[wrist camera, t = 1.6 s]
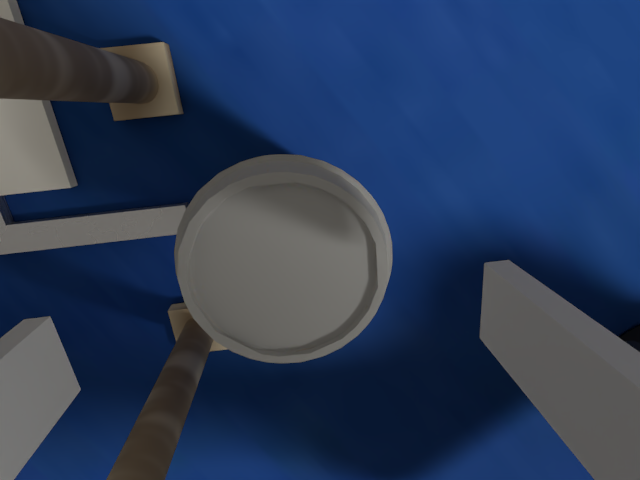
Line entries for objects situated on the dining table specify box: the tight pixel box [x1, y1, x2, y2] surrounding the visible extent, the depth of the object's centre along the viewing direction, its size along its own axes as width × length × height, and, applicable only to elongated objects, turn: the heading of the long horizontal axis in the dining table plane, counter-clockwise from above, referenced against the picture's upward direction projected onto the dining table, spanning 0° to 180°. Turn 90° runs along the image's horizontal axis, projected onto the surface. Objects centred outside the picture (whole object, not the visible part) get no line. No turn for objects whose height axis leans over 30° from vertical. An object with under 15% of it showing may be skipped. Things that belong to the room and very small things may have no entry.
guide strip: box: [0, 195, 189, 255], centre depth 25 cm, size 14×4×1 cm, turn 96°
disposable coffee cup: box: [174, 154, 392, 363], centre depth 20 cm, size 10×10×12 cm
